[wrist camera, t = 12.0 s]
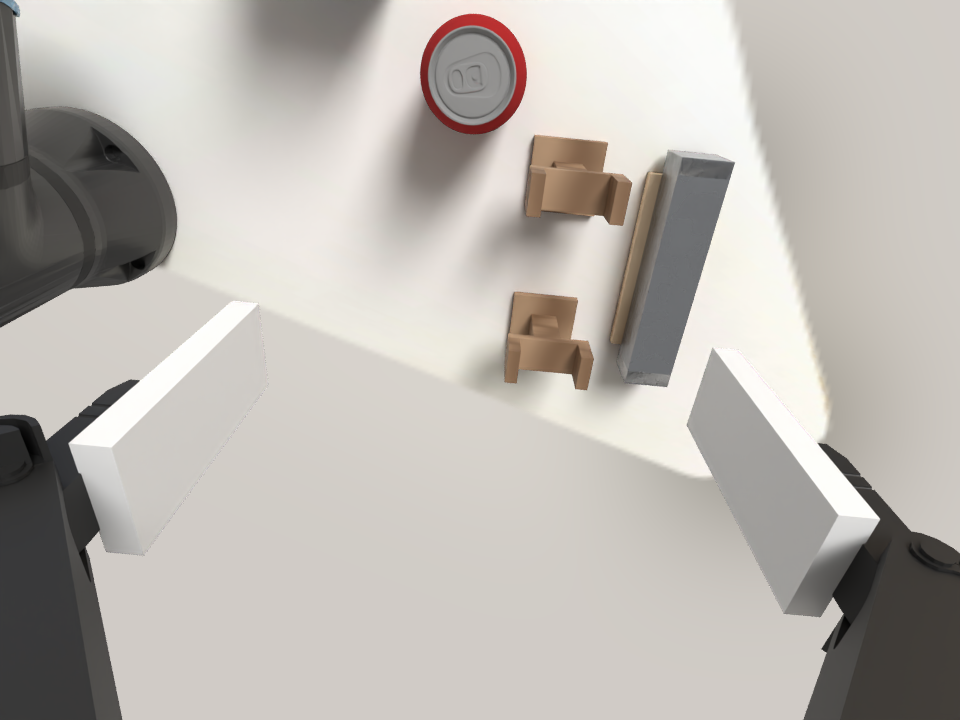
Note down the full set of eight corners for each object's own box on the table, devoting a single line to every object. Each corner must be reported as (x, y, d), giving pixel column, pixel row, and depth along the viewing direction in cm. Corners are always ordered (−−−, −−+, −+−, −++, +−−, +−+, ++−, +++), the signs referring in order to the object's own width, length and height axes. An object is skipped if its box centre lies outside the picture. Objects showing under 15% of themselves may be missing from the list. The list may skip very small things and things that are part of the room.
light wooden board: (609, 338, 54) (611, 343, 53) (648, 171, 46) (650, 173, 45) (669, 344, 54) (672, 349, 53) (717, 178, 46) (721, 180, 45)
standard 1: (502, 346, 54) (502, 397, 46) (509, 291, 52) (510, 334, 43) (571, 353, 55) (583, 404, 46) (581, 298, 52) (597, 342, 43)
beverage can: (525, 114, 44) (533, 129, 34) (444, 126, 45) (427, 144, 34) (517, 18, 41) (522, 1, 30) (430, 32, 42) (405, 20, 31)
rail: (616, 362, 54) (624, 382, 50) (668, 149, 44) (682, 157, 41) (656, 366, 54) (667, 386, 50) (716, 154, 44) (734, 162, 41)
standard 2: (519, 206, 48) (523, 236, 39) (528, 134, 45) (534, 149, 37) (598, 214, 48) (618, 246, 40) (612, 142, 45) (637, 160, 37)
